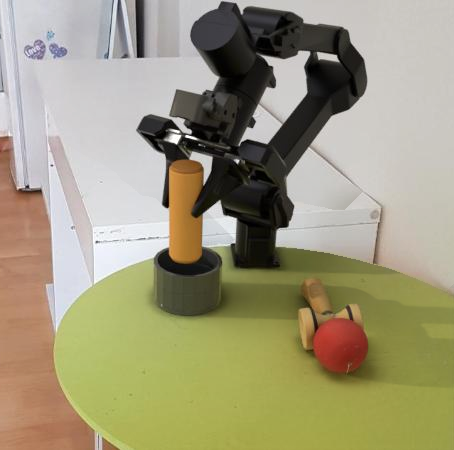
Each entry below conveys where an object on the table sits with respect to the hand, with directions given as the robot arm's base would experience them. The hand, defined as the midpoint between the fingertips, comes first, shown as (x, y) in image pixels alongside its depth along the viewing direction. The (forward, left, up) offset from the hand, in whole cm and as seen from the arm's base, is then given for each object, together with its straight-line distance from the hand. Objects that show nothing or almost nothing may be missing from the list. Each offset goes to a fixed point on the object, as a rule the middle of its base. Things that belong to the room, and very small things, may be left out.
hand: (178, 211), depth 88 cm
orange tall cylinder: (-1, +1, -7) cm, 7 cm away
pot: (-3, +1, -14) cm, 14 cm away
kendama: (+6, +17, -14) cm, 23 cm away
